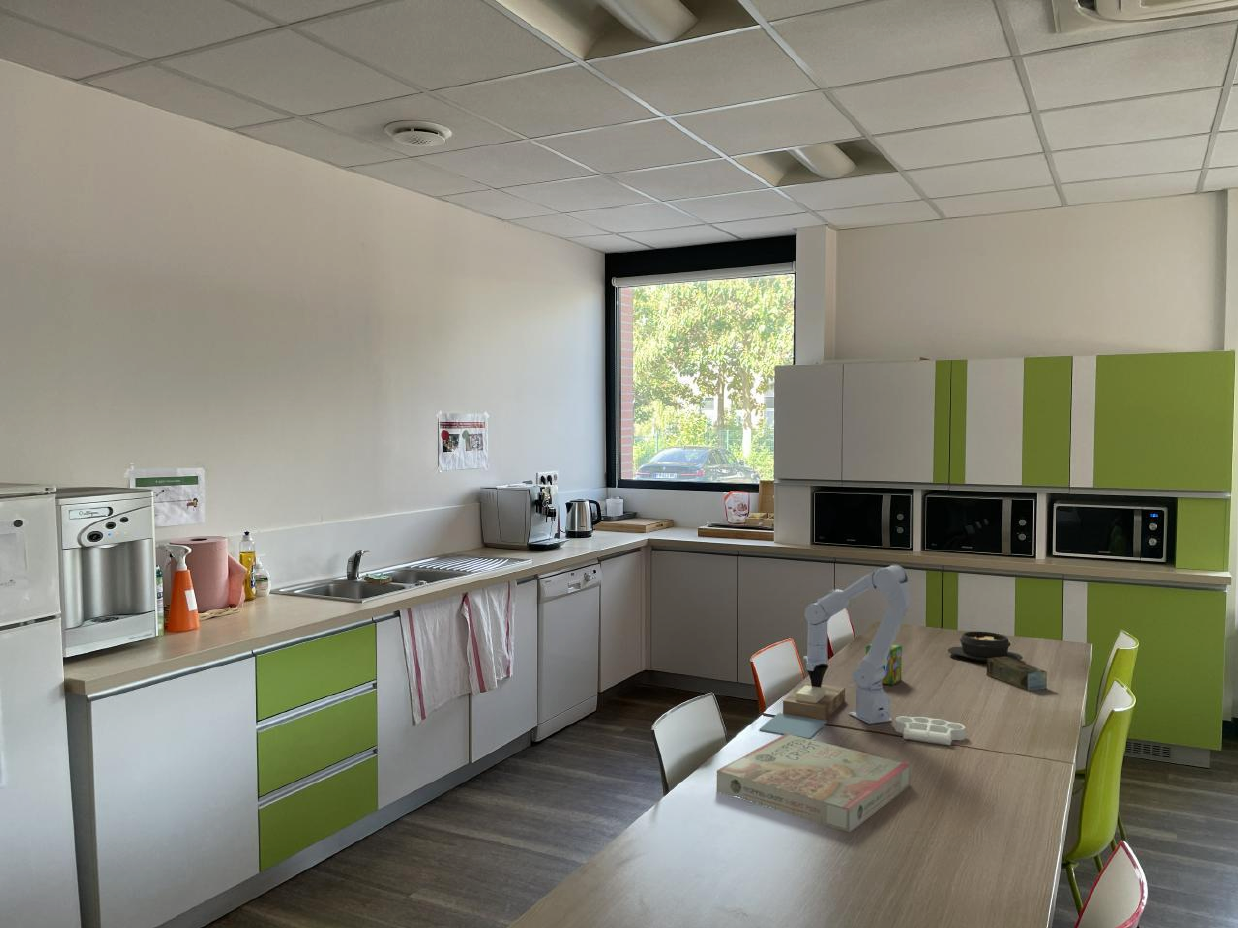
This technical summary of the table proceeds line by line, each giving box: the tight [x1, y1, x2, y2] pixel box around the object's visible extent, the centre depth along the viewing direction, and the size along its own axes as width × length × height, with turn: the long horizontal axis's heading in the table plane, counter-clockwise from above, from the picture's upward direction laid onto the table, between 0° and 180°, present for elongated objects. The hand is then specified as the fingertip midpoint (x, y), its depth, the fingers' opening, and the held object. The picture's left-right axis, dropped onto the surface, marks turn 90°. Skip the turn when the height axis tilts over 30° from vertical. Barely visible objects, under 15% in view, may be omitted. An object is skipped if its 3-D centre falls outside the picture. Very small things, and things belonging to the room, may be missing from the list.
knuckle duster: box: [894, 715, 966, 747], centre depth 242 cm, size 3×18×15 cm
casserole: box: [947, 631, 1024, 664], centre depth 323 cm, size 25×19×8 cm
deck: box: [782, 681, 846, 721], centre depth 265 cm, size 22×12×4 cm, turn 151°
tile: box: [796, 685, 825, 703], centre depth 262 cm, size 9×6×2 cm, turn 151°
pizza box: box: [716, 734, 911, 833], centre depth 206 cm, size 32×5×32 cm
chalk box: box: [865, 643, 903, 686], centre depth 294 cm, size 9×9×15 cm
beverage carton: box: [986, 656, 1048, 691], centre depth 294 cm, size 8×19×7 cm, turn 18°
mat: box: [758, 712, 828, 740], centre depth 248 cm, size 16×14×1 cm
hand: (816, 689), depth 267 cm, fingers closed
